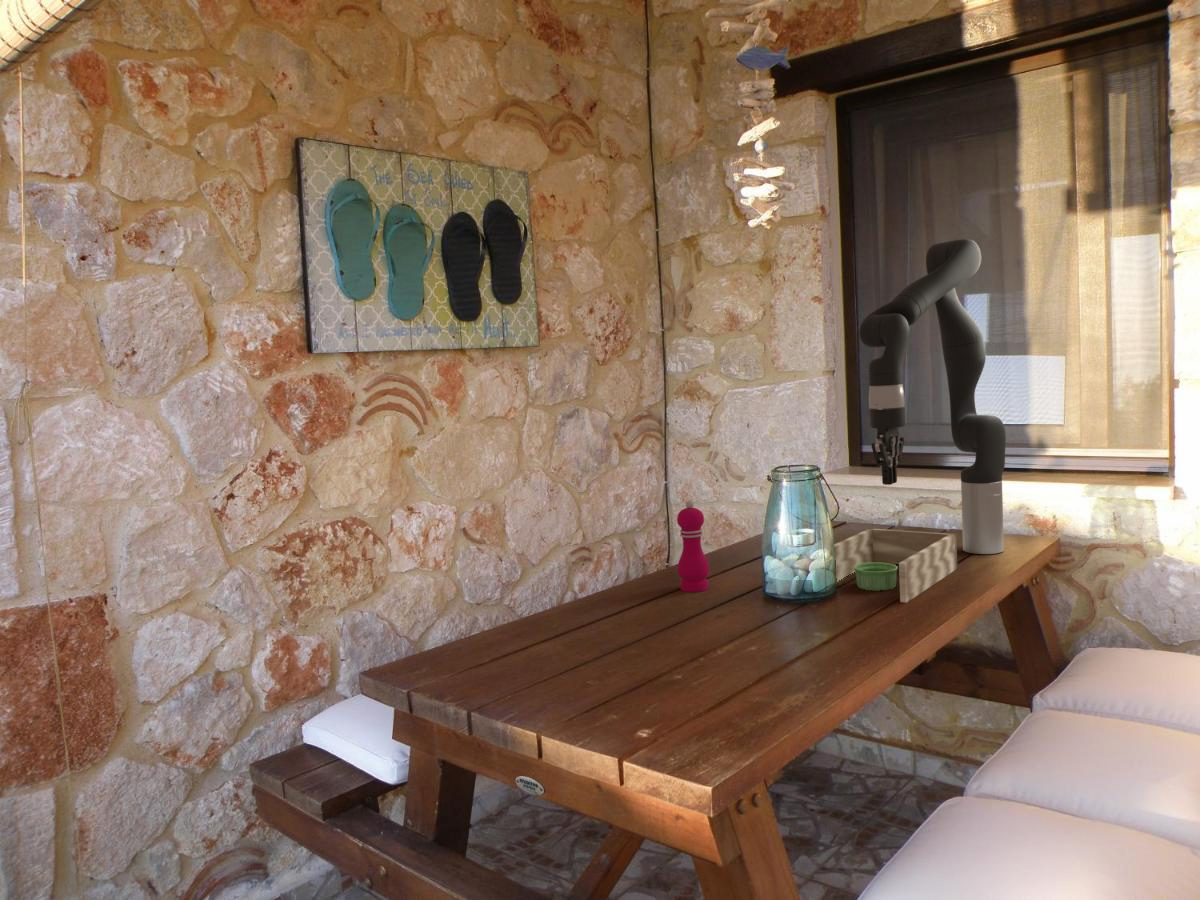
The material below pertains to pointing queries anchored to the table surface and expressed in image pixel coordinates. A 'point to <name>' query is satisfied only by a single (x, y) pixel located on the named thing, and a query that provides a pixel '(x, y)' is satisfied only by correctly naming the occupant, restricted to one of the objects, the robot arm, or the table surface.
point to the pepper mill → (692, 551)
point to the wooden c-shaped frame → (901, 556)
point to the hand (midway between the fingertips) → (889, 483)
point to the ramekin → (876, 576)
